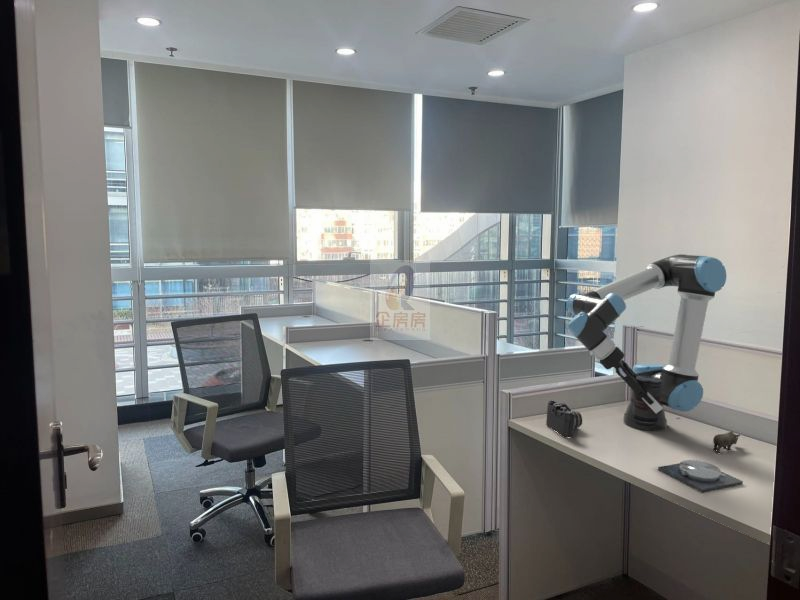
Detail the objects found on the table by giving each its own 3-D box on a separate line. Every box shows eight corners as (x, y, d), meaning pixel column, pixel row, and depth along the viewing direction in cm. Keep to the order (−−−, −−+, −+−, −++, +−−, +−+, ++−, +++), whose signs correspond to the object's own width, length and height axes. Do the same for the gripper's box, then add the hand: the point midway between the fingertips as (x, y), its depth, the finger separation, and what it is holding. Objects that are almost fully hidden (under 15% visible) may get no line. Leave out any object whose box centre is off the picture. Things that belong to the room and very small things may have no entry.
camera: (590, 436, 207) (592, 409, 206) (563, 439, 204) (565, 411, 203) (568, 422, 221) (569, 397, 219) (542, 425, 217) (544, 399, 216)
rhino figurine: (744, 447, 199) (745, 430, 199) (720, 455, 192) (722, 437, 192) (732, 443, 203) (733, 427, 202) (708, 450, 196) (710, 433, 195)
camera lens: (661, 429, 184) (664, 382, 182) (634, 427, 185) (637, 381, 183) (655, 420, 191) (658, 376, 189) (629, 418, 193) (632, 374, 191)
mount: (696, 463, 185) (697, 454, 185) (742, 484, 170) (743, 474, 170) (657, 470, 179) (658, 460, 179) (702, 492, 164) (703, 482, 164)
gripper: (598, 353, 200) (645, 403, 197) (598, 368, 180) (651, 424, 178) (615, 339, 198) (663, 390, 195) (617, 352, 178) (671, 409, 175)
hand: (657, 406), depth 186 cm, fingers closed on camera lens, 8 cm apart
